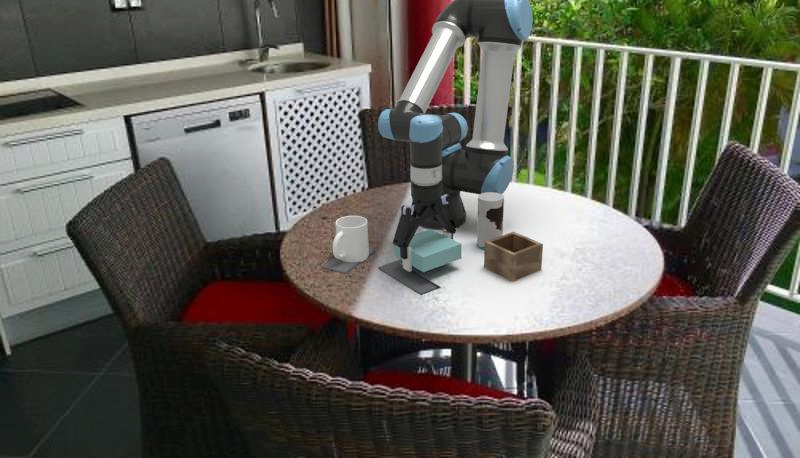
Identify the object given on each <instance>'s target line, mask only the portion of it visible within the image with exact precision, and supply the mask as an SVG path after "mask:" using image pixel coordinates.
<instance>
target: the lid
mask: <svg viewBox="0 0 800 458" xmlns="http://www.w3.org/2000/svg"><path fill="white" fill-rule="evenodd" d="M409 246H410V247H411V261H412V268H416V269H417V270H419V271H420V272H422V273H425V272H427V271H430V270H434V269H436V268H438V267H441V266H444V265H447V264H450V263H453V262H456V261H458V260H460V259H462V247H463V246H462V242H459V241H456V240H455V239H454V238H453V239H451V238H449V237H447V236H445V235H442V232H438V231H437V230H435V229H432V228H428V229H427V230H423V231H420V232H418V233H415V234H414V236H413V238H412V240H411V242H410V244H409ZM393 256H395V257H396V258H397V259H398V260H400V259H401V260H403V259H402V258H401V257H400V247H398V246H396V245H394V244H393Z"/></svg>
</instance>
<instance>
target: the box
mask: <svg viewBox="0 0 800 458" xmlns="http://www.w3.org/2000/svg"><path fill="white" fill-rule="evenodd" d="M543 249H544V243H542V242H539V241H536V240H534V239H532V238H529V237H527V236H525V235H523V234H520V233H518V232H515V231H511V232H508V233H505V234H503V236H500V237H497V238H494V239H491V240H488V241H486V242H485V248H484V250H483V251H484V256H483V258H484V261H483V262H484V263H483V268H484V269H486V270H489V271H490V272H492V273H494V274H497V275H498V276H500V277H502V278H505V279H506V280H508V281H510V282H512V283H514V282H515V281H518V280H520V279H523V278H525V277H527V276H530V275H533V274H536V273H537V272H539V271H542V268H543V267H542V266H543V265H542V264H543Z"/></svg>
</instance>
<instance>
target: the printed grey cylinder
mask: <svg viewBox="0 0 800 458" xmlns="http://www.w3.org/2000/svg"><path fill="white" fill-rule="evenodd" d="M504 203H505V196H504V195H503V194H499V193H494V192H486V193H482V194H477V234H476V235H477V236H476V237H477V238H476V239H477V240H476V247H477V248H478V249H480V250H482V251H484V248H485V242H486V241H488V240H491V239H494V238H497V237H500V236H503V235H504V234H503V231H504V211H505V210H504V209H505V207H504V205H505V204H504Z"/></svg>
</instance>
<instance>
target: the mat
mask: <svg viewBox="0 0 800 458" xmlns="http://www.w3.org/2000/svg"><path fill="white" fill-rule="evenodd" d="M377 269H378V270H380V271H382V272H383V273H385V275H386V274H387V275H388V276H390V277H391V278H393V279H394V280H396V281H398V282H399V283H401V284H403V285H404V286H406V287H408V288H409V289H411V290H412V291H414V292H416V293H417V294H419V295H421V296H423V295H424V294H427V293H430V292H433V291H435V290H438V289H441V288H442V287H441V286H440V285H438V284H436V283H435V282H433V281H431V280H430V279H427V277H424V276H422V274H419V273H418V272H416V271H414V270H412V271H410V272H409V271H407V270H405V269H404V268H403V260H401V259H397V260H394V261H392V262H389V263H386V264H383V265H381V266H378V267H377Z"/></svg>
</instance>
